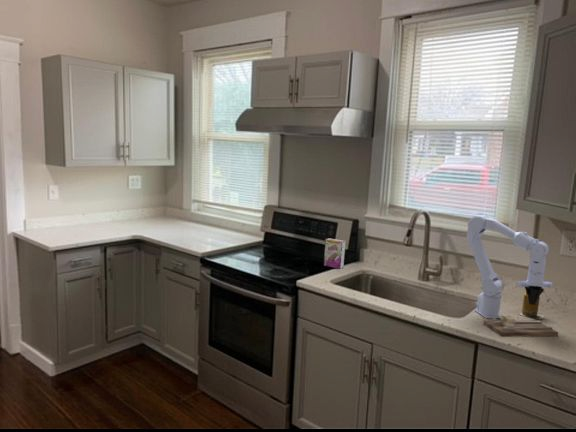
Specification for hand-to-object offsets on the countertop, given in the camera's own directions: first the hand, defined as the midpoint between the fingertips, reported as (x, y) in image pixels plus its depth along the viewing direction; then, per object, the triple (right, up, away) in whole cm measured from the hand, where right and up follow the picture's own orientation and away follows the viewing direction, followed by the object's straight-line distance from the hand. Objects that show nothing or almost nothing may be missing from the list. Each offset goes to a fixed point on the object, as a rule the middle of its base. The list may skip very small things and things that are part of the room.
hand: (531, 304), depth 179 cm
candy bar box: (-73, +6, +81) cm, 109 cm away
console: (-7, -10, -4) cm, 12 cm away
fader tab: (-13, -8, -5) cm, 16 cm away
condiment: (+8, -8, +14) cm, 18 cm away
